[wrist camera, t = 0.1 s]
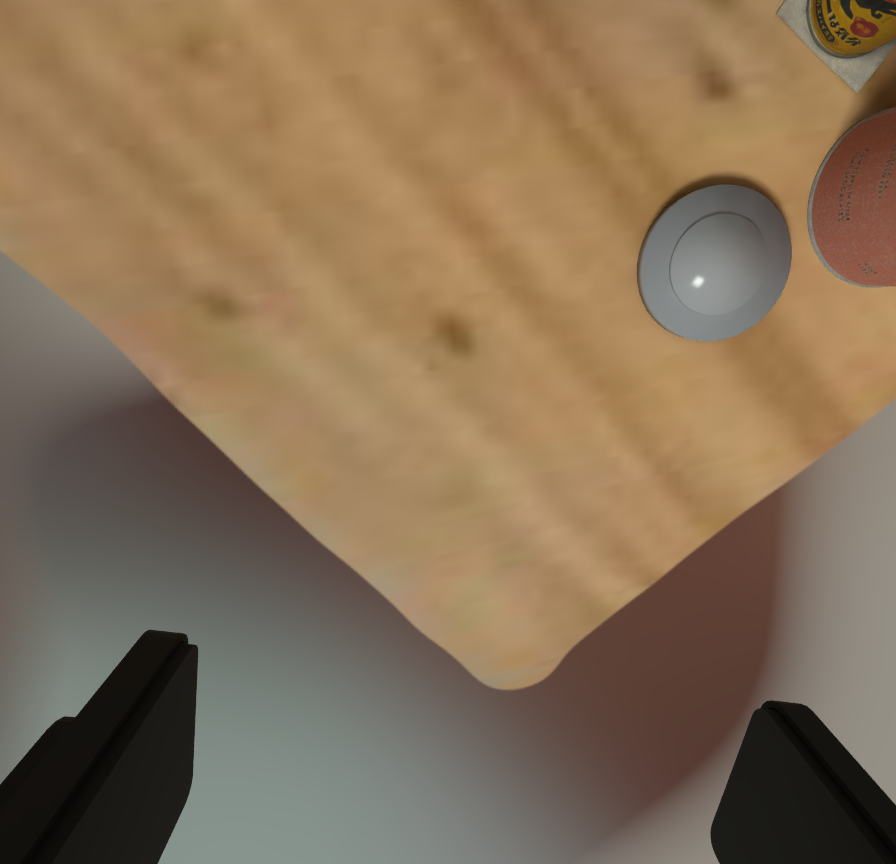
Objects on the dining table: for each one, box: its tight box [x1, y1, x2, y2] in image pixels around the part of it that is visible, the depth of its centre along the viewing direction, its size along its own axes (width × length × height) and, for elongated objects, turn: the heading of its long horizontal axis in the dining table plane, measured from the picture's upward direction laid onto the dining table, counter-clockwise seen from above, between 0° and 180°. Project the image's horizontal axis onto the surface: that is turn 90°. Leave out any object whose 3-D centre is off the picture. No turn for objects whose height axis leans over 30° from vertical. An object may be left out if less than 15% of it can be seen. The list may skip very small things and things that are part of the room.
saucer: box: [637, 184, 792, 341], centre depth 37 cm, size 10×10×1 cm
